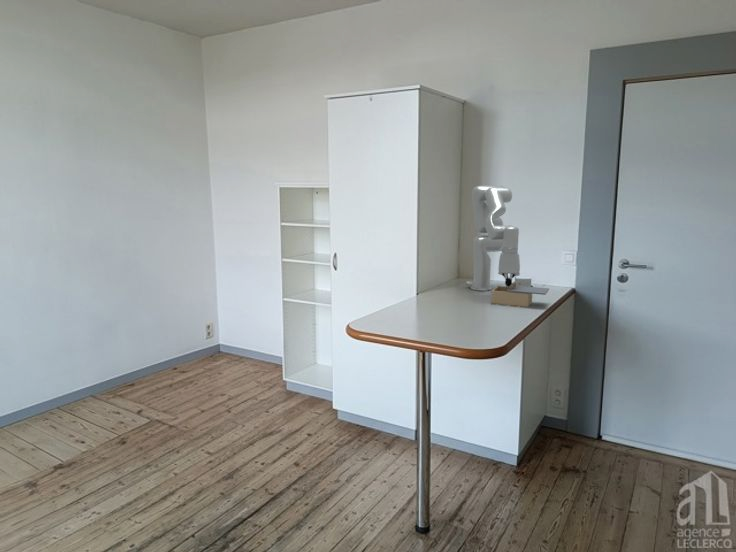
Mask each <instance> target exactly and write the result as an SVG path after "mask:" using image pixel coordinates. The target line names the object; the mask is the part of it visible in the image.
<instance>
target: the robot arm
mask: <svg viewBox="0 0 736 552" xmlns="http://www.w3.org/2000/svg"><path fill="white" fill-rule="evenodd" d="M512 199H513V192H512V190H511V188H509V187H507V186H503V185H477V186H475V187H474V188H473V189H472V191H471V201H472V205H473V208H474V223H475V224H474V227H475V228H474V229H475V231H476V232H477V233H479V234H484V235H477V236H475V237H474V238H473V241H472V246H473V256H474V257H473V280H472V281H471V280H466V285H467V286H468V285H469V286H470V290H472V291H481V292H487V291H488V290H489V291H492V290H493V286H491V270H492V269H491V267H492V262H491V261H492V259H491V257H490V255H489V254H488V253H489V252H490V253H491V252H493V253H494V252H501V253H500V255H499V260H498V268H497V270H498V273H497V274H498V275H501V276H502V277H503V278H504V279H505V282H504V284H505V287H510V285H511V284H512V283H513V278H515V277H520V275H521V273H520V269H521V264H520V263H521V262H520V255H519V253H518V251H519V250H518V248H519V234H520V232H519V231H520V230H519V227H517V226H513V225H512V224H511V225H506V224H505V225H504V222H503V219H502V218H501V217H502V216H503V215H505V213H506V210H507V207H506V205H505V204H506V203H508V204H509V203H510V202H511V201H512ZM485 201H486V202H485ZM485 234H487V235H485ZM489 291H488V292H489Z"/></svg>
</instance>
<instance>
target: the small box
mask: <svg viewBox="0 0 736 552" xmlns="http://www.w3.org/2000/svg"><path fill="white" fill-rule="evenodd" d="M514 282H516V286H526V287H532V277H530V276H514Z"/></svg>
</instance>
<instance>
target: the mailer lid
mask: <svg viewBox="0 0 736 552" xmlns="http://www.w3.org/2000/svg"><path fill="white" fill-rule="evenodd" d="M549 290H550V288H548V287H539V286H538V287H537V286H531V287H526V286H516V282H515V281H512V284H511V285H510V288H509V289H508V290H507V292H519V293H530V294H532V295H543V296H544V295H545V296H546V295H547V293H548V292H549Z"/></svg>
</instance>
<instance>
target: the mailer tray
mask: <svg viewBox="0 0 736 552" xmlns="http://www.w3.org/2000/svg"><path fill="white" fill-rule="evenodd" d="M509 288H510V287H506V286H504V285H503V286H502V285H498V286H496V287H494V288H492V290H491V303H492V304H491V305H496V304H501V305H500V306H507V305H510V306H509V307H517V306H520V308H527V307H528V308H529V307H530V305H531V304H532V302H533V294H530V293H519V292H507V290H508V289H509Z"/></svg>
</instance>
